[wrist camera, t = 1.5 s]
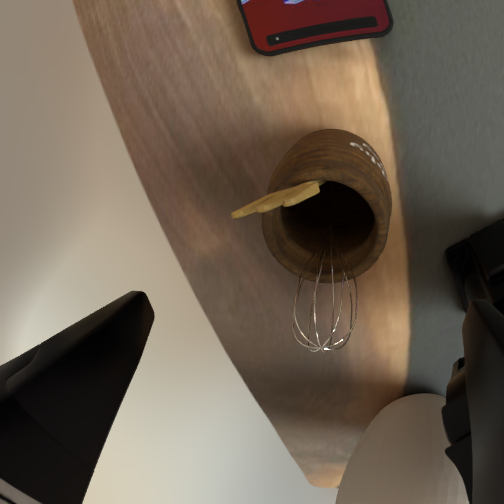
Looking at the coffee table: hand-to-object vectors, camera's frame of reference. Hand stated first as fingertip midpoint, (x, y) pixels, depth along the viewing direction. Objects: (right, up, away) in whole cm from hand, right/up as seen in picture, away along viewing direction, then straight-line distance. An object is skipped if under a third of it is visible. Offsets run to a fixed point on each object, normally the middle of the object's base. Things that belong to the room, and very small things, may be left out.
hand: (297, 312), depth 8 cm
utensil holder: (+4, +6, +10) cm, 12 cm away
